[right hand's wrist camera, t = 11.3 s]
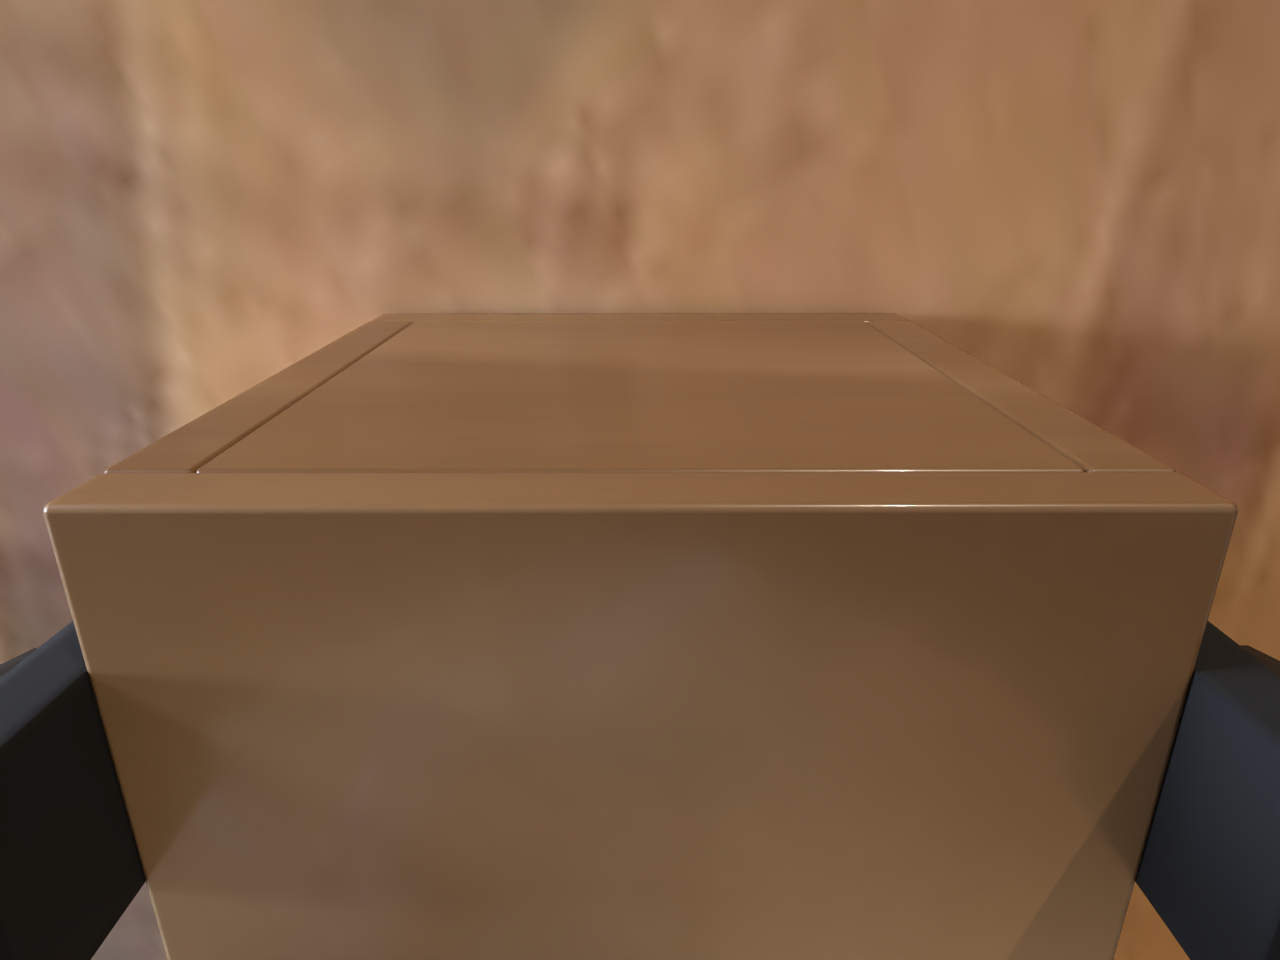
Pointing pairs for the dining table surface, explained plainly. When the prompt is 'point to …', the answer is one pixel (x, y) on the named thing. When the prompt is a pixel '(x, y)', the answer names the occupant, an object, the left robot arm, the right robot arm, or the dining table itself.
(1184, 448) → the dining table surface
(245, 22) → the dining table surface
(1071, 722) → the cabinet
